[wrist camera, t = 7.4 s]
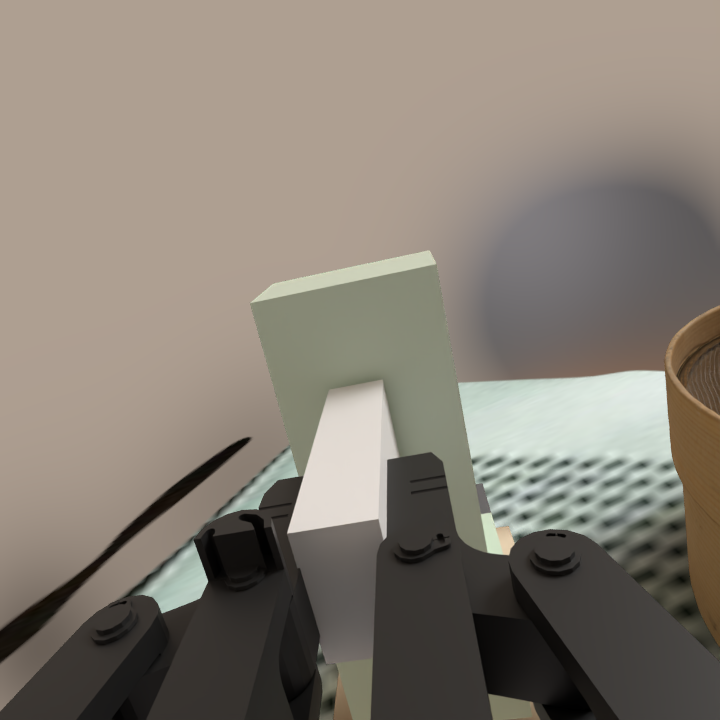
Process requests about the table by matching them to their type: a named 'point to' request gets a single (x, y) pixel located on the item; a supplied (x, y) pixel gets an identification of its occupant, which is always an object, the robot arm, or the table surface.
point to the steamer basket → (698, 451)
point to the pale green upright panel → (401, 381)
